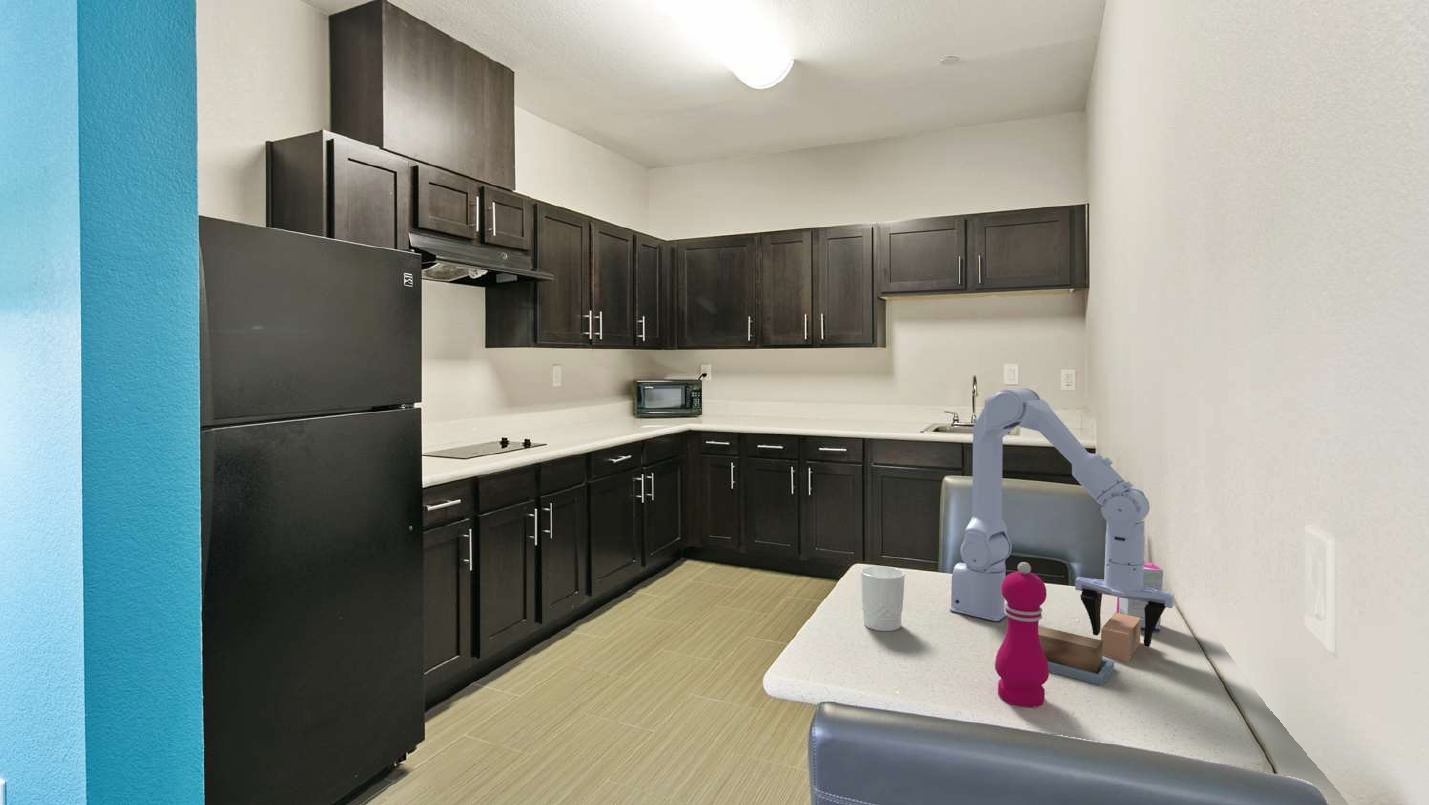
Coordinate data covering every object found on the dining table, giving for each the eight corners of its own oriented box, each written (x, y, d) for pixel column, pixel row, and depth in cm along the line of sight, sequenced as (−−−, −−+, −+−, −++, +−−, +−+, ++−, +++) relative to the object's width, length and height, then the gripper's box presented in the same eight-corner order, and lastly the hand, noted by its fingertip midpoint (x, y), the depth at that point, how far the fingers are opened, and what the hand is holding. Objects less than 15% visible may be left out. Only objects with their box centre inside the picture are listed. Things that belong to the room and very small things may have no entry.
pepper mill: (985, 687, 108) (988, 556, 106) (1031, 685, 108) (1035, 555, 107) (1009, 710, 100) (1012, 570, 99) (1058, 708, 101) (1062, 569, 100)
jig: (995, 664, 116) (995, 657, 115) (1023, 639, 126) (1023, 632, 126) (1096, 692, 106) (1097, 684, 106) (1118, 662, 117) (1118, 655, 116)
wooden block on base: (1021, 660, 118) (1022, 630, 117) (1029, 653, 121) (1030, 624, 120) (1095, 680, 111) (1096, 648, 110) (1101, 671, 114) (1102, 640, 113)
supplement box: (1161, 632, 130) (1164, 569, 129) (1125, 629, 131) (1128, 568, 130) (1149, 620, 135) (1151, 561, 135) (1115, 618, 136) (1116, 559, 136)
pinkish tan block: (1100, 655, 120) (1101, 628, 120) (1114, 638, 127) (1115, 612, 127) (1127, 662, 117) (1128, 634, 117) (1140, 644, 125) (1140, 618, 124)
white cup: (856, 629, 131) (857, 575, 130) (864, 615, 138) (865, 564, 138) (900, 635, 128) (901, 580, 127) (906, 620, 135) (907, 568, 135)
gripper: (1071, 558, 123) (1069, 635, 124) (1170, 574, 114) (1167, 658, 115) (1082, 549, 129) (1079, 624, 129) (1177, 564, 119) (1174, 644, 120)
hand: (1121, 639), depth 122 cm, fingers open, 7 cm apart
